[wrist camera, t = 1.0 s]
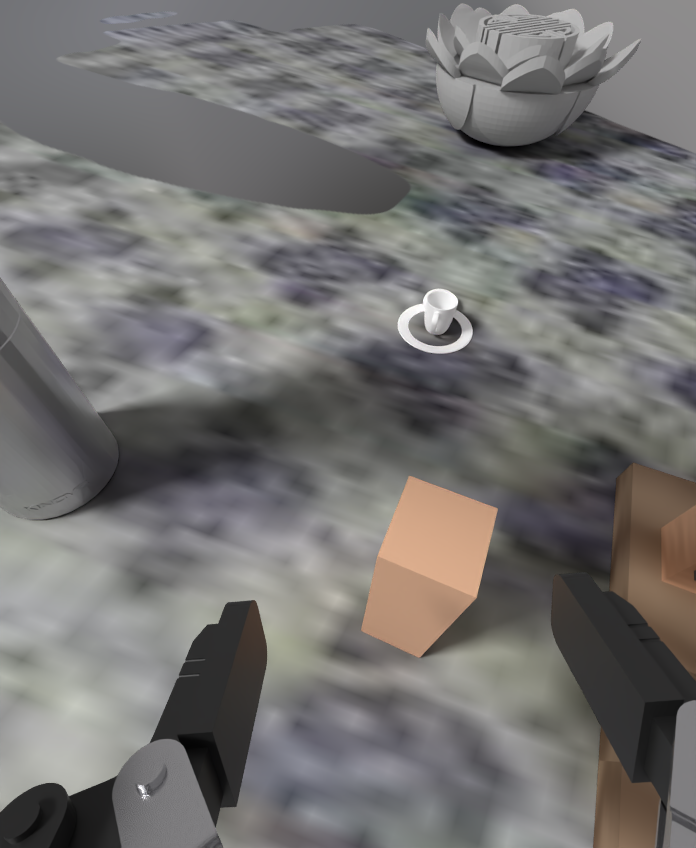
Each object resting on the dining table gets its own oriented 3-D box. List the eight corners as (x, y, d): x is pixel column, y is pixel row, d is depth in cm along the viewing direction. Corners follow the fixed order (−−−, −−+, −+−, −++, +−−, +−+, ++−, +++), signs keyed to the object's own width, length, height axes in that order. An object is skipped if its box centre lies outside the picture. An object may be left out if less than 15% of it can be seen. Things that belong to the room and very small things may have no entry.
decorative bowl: (502, 94, 90) (528, -7, 78) (620, 149, 75) (674, 35, 63) (379, 119, 80) (386, 9, 68) (485, 188, 65) (519, 62, 53)
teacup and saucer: (430, 294, 50) (436, 263, 47) (489, 326, 47) (500, 295, 44) (382, 331, 47) (385, 300, 43) (443, 368, 43) (452, 338, 40)
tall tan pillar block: (419, 657, 28) (476, 597, 16) (361, 630, 29) (377, 556, 17) (439, 589, 30) (500, 497, 19) (385, 566, 31) (413, 464, 20)
